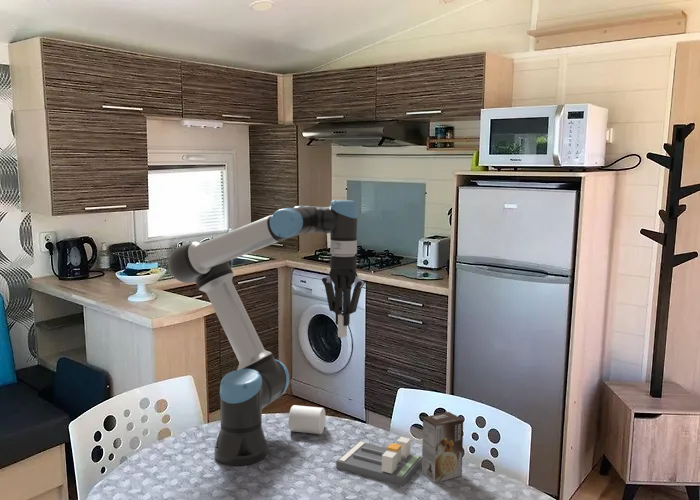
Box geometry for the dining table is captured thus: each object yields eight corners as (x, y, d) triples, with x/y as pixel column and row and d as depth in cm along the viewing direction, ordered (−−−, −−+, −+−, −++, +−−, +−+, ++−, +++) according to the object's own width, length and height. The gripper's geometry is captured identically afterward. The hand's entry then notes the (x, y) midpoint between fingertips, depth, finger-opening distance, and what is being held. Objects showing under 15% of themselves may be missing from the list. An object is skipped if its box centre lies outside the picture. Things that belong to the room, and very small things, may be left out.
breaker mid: (386, 462, 160) (386, 447, 160) (390, 457, 163) (391, 442, 162) (396, 464, 159) (397, 449, 158) (400, 460, 162) (401, 445, 161)
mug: (319, 438, 180) (319, 413, 179) (288, 435, 182) (288, 410, 181) (328, 422, 191) (328, 399, 190) (299, 420, 193) (299, 396, 192)
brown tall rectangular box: (448, 465, 164) (450, 410, 162) (462, 476, 158) (464, 419, 156) (420, 473, 159) (422, 416, 157) (434, 484, 154) (436, 425, 152)
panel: (336, 467, 162) (336, 458, 161) (359, 447, 174) (359, 438, 174) (403, 486, 152) (403, 476, 152) (422, 463, 165) (422, 454, 164)
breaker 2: (396, 455, 164) (396, 440, 164) (400, 451, 167) (400, 436, 166) (406, 458, 163) (406, 443, 162) (410, 453, 166) (410, 438, 165)
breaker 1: (381, 470, 155) (381, 455, 155) (386, 466, 158) (386, 450, 158) (391, 473, 154) (392, 457, 154) (396, 468, 157) (396, 453, 156)
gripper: (316, 254, 165) (316, 336, 168) (358, 258, 159) (356, 342, 162) (329, 251, 171) (329, 330, 174) (369, 255, 165) (368, 336, 168)
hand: (342, 336), depth 168 cm, fingers closed
